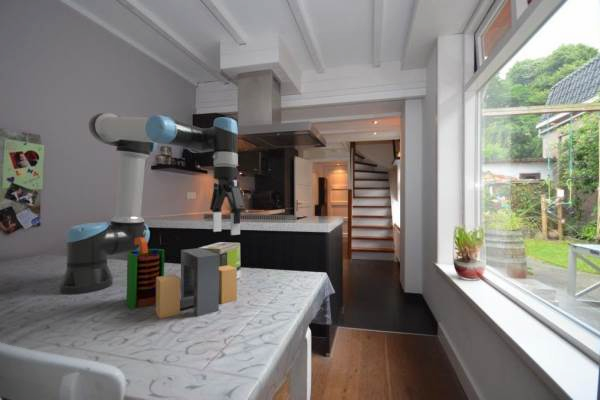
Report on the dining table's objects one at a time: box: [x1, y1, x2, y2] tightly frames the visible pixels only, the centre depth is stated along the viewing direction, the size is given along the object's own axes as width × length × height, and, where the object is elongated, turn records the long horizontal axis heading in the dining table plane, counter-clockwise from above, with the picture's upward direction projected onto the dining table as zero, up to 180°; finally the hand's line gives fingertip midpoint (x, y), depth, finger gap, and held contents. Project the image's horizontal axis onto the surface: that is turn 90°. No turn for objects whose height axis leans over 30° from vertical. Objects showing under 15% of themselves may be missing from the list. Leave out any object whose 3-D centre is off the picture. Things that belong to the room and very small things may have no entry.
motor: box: [125, 237, 165, 309], centre depth 83 cm, size 10×9×20 cm
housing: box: [180, 247, 220, 317], centre depth 80 cm, size 15×6×16 cm, turn 40°
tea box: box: [199, 241, 242, 280], centre depth 104 cm, size 15×10×15 cm, turn 163°
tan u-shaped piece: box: [155, 265, 238, 319], centre depth 80 cm, size 6×22×10 cm, turn 130°
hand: (225, 233), depth 86 cm, fingers open, 13 cm apart
